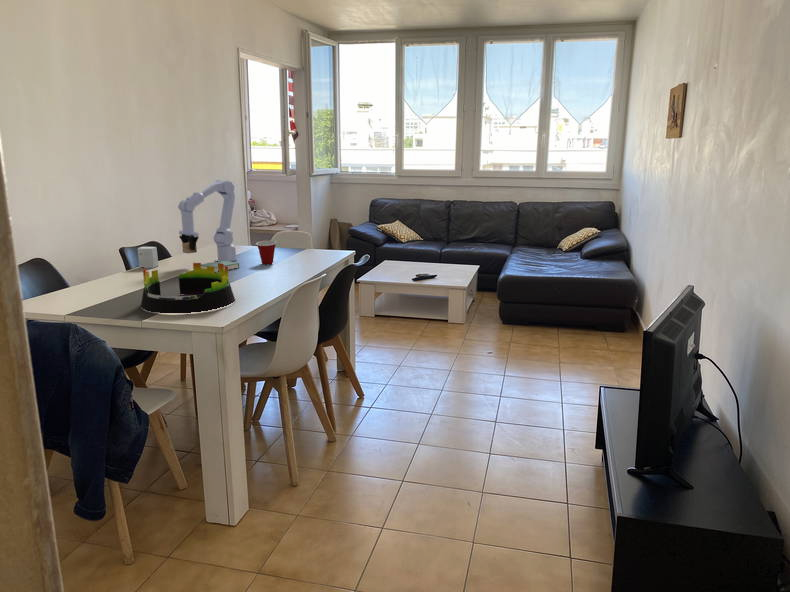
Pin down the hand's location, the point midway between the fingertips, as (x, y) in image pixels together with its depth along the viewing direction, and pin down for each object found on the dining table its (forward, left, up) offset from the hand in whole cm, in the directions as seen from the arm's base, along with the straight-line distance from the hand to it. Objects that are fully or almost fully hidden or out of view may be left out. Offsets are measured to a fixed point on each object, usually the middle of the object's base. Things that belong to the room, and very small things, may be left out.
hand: (189, 249), depth 323 cm
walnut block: (0, 0, -2) cm, 2 cm away
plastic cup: (-31, +24, -10) cm, 41 cm away
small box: (+15, -16, -10) cm, 24 cm away
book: (-6, +16, -10) cm, 20 cm away
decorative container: (+45, +66, -10) cm, 80 cm away
